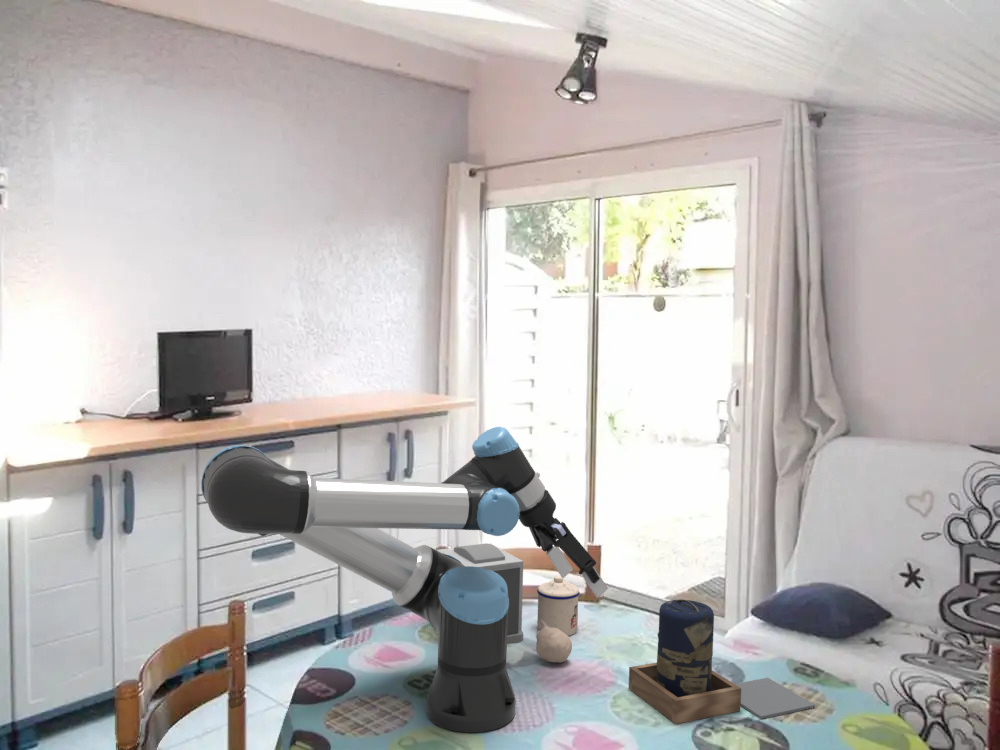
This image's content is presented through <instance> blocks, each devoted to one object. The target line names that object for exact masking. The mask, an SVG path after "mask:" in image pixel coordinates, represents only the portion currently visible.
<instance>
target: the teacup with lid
mask: <svg viewBox="0 0 1000 750" xmlns="http://www.w3.org/2000/svg"><path fill="white" fill-rule="evenodd" d="M536 592H537V595H538V596H537V627H536V628H537V630H538V631H539V630H541V629H543V624H542V623H541V622H540V621H541V620H543V621H544V622H545V623H546V625H547V626H548V627H552V628H557V629H559V630H561V631H562V632H563V633H565V634H566V635H567V636H568V637H569V636H572V635H574V634H576V633H577V631H578V618H579V615H578V614H579V595H580V593H581V592H580V589H579V588H578V586H576V585H575V584H572V583H569V582H568V581H567V580H564V578H562V577H561V575H555V576H554V577H553V579H552V580H550V581H548V582H544V583H541V584H540V585H538V587H537V590H536Z"/></svg>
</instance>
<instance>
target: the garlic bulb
mask: <svg viewBox="0 0 1000 750" xmlns="http://www.w3.org/2000/svg"><path fill="white" fill-rule="evenodd" d="M540 622H541V623H542V624H543V629H541V630H538V632H537V634H536V636H535V637H536V646H535V650H536V651H535V652H536V653H537V655H538V656H539V657H540V658H541V660H544V661H546V662H551V663H559V664H560V663H564V662H565V661H567V660H568V659H569V657H570V655H571V653H572V651H573V650H572V649H573V644H572V640H571V638H570V637H569V636H567V635H566V634H565V633H563V632H562V631H561V630H559V629H557V628H552V627H548V626H547V625H546V623H545V622H544V621H543V620H541V621H540Z"/></svg>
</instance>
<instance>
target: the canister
mask: <svg viewBox="0 0 1000 750" xmlns="http://www.w3.org/2000/svg"><path fill="white" fill-rule="evenodd" d="M658 616H659V617H658V632H657V635H656V636H657V638H658V640H657V650H656V651H657V653H656V654H657V656H656V663H657V683H658V684H660V685H661V686H662V687H664V688H665V689H667V690H668V691H669V692H671V693H672V694H674V695H675V696H676V697H683V696H688V695H693V694H699V693H704V692H709V691H711V675H712V671H713V670H712V667H713V656H714V655H713V653H714V622H715V613H714V610H713V609H712V607H710V606H709V605H708V604H706V603H703V602H699V601H697V600H690V599H682V598H681V599H672V600H667V601H665V602H663V603H662V604H661V605H660V607H659V611H658Z"/></svg>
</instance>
